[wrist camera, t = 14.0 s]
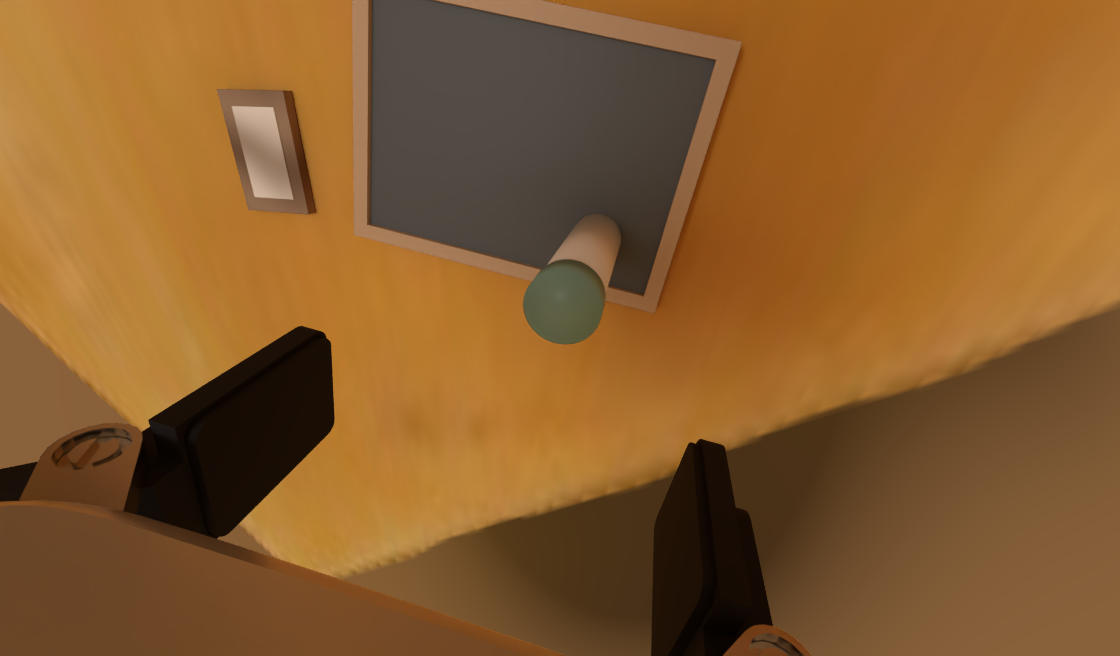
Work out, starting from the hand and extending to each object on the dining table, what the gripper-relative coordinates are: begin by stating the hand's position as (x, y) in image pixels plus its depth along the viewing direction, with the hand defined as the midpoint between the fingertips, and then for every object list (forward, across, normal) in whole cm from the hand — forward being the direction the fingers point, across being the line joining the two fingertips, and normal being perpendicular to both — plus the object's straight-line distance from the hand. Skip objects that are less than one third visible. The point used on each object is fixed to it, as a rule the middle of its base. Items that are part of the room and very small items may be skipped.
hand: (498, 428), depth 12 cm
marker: (+21, 0, +1) cm, 21 cm away
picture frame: (+22, +24, +1) cm, 32 cm away
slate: (+22, +6, -3) cm, 23 cm away
